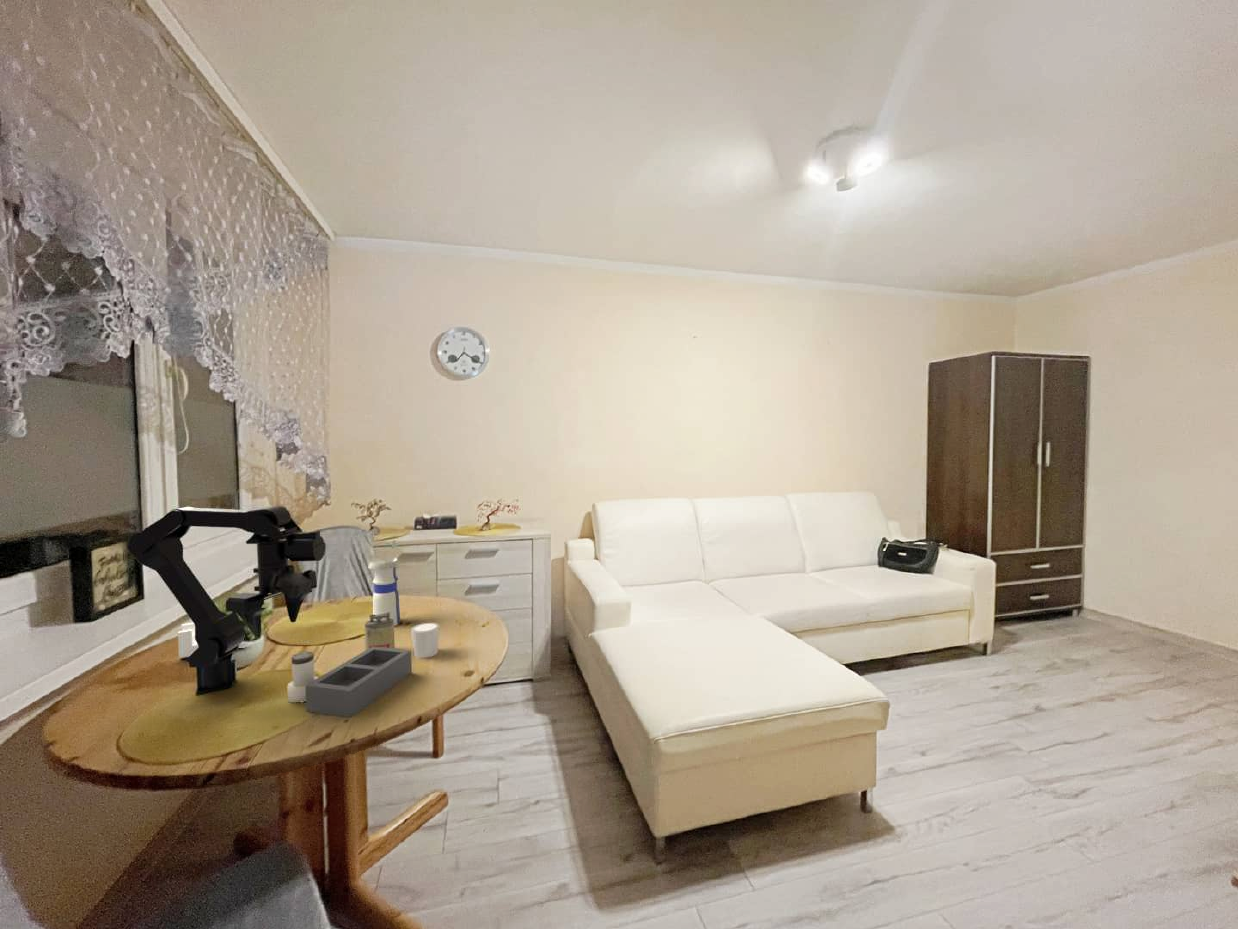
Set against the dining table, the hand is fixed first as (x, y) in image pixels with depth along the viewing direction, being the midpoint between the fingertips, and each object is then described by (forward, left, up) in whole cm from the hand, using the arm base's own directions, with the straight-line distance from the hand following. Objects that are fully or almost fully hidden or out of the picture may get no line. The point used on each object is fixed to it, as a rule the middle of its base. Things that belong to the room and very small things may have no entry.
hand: (276, 629), depth 115 cm
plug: (+5, -10, -12) cm, 17 cm away
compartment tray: (+16, -15, -13) cm, 25 cm away
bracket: (-16, +31, -13) cm, 37 cm away
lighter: (+22, +6, -13) cm, 26 cm away
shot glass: (+32, -2, -13) cm, 35 cm away
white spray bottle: (+26, +27, -13) cm, 40 cm away
